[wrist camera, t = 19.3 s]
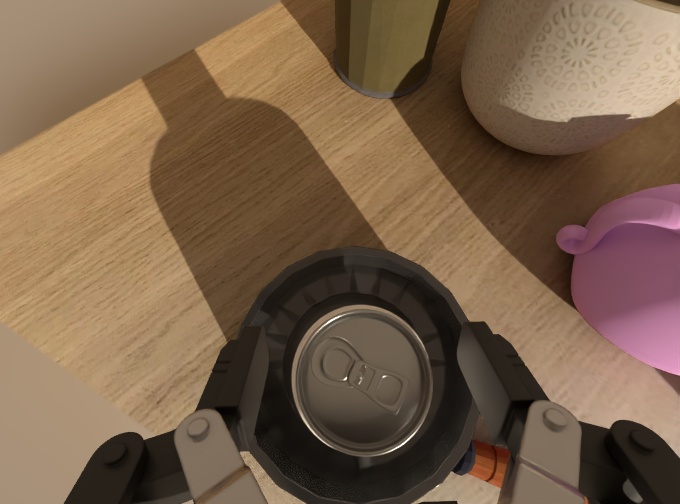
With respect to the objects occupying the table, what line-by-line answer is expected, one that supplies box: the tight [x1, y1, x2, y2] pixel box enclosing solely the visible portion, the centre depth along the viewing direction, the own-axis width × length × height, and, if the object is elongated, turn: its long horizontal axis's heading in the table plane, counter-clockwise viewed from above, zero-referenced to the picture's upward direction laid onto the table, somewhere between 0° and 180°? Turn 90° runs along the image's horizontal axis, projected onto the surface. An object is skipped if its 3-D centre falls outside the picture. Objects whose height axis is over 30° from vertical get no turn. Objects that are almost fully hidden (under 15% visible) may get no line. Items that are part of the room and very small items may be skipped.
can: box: [292, 305, 433, 457], centre depth 19 cm, size 6×6×12 cm
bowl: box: [237, 246, 480, 504], centre depth 22 cm, size 15×15×6 cm
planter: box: [461, 0, 680, 155], centre depth 25 cm, size 17×17×15 cm
